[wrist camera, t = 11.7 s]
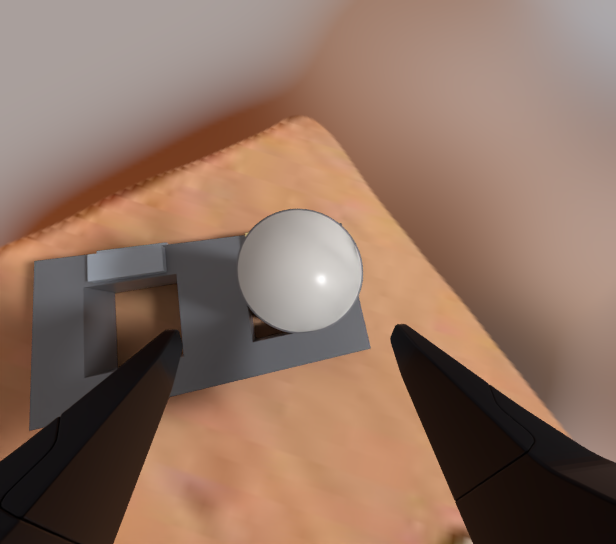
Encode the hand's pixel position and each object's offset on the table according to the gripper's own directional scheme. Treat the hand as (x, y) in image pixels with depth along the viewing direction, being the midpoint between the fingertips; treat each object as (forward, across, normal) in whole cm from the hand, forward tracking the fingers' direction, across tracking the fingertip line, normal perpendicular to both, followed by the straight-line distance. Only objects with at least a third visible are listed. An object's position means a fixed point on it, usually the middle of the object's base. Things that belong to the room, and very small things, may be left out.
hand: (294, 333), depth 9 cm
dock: (+8, +5, +6) cm, 11 cm away
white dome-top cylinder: (+9, 0, +5) cm, 10 cm away
